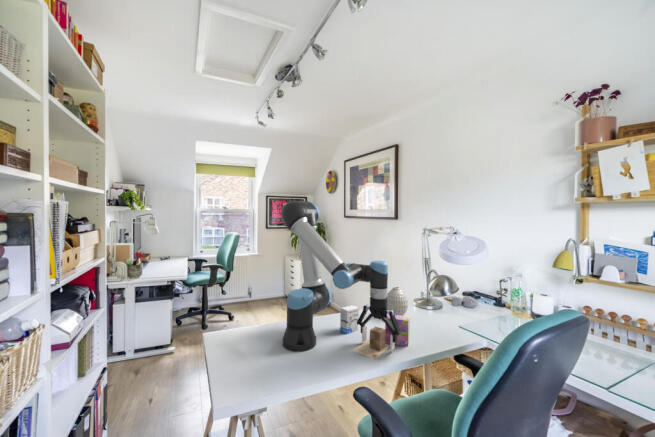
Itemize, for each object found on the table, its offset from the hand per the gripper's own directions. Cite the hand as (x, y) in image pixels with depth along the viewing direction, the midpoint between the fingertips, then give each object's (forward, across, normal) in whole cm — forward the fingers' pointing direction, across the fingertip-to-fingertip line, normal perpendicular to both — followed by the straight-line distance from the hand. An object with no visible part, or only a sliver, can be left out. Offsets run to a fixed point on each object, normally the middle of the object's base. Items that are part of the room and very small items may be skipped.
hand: (377, 345), depth 132 cm
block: (+1, 0, 0) cm, 1 cm away
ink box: (+2, -20, +8) cm, 21 cm away
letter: (+1, -2, -2) cm, 3 cm away
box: (+2, +4, +11) cm, 12 cm away
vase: (+2, -10, +42) cm, 43 cm away
